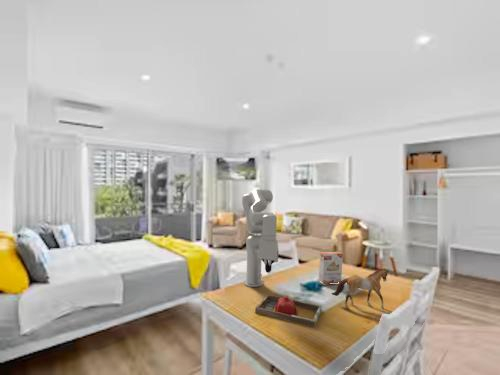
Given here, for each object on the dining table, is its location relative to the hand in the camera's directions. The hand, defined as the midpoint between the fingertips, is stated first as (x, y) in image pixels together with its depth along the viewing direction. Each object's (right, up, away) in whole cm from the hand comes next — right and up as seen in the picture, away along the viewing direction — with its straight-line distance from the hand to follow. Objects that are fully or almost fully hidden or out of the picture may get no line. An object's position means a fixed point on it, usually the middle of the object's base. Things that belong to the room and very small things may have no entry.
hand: (268, 271), depth 145 cm
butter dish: (+9, -20, -5) cm, 22 cm away
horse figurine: (+51, -21, +7) cm, 55 cm away
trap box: (+10, -19, -4) cm, 22 cm away
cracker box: (+44, -20, +36) cm, 60 cm away
